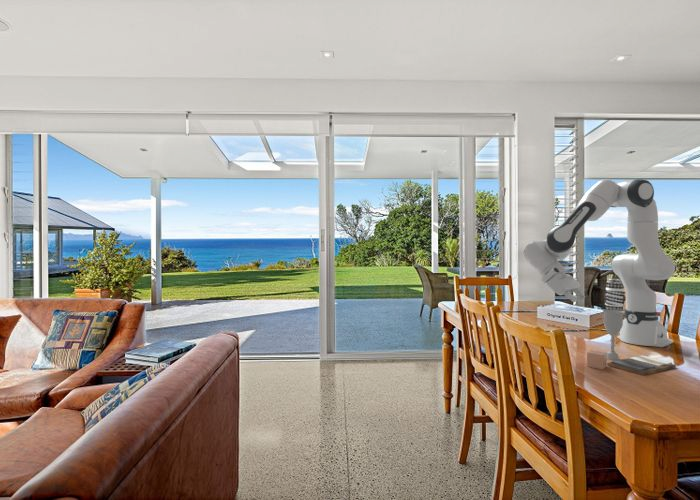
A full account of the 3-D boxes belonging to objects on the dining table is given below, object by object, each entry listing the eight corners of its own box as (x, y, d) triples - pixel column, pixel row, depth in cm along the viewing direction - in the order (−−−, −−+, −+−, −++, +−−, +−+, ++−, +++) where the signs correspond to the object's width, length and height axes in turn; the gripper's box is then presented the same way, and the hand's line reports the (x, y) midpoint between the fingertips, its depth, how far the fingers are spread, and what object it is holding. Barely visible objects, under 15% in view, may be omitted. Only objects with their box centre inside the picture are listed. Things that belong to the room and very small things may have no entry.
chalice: (620, 356, 164) (622, 310, 163) (625, 361, 157) (627, 313, 157) (599, 354, 166) (600, 309, 166) (603, 359, 160) (604, 311, 159)
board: (639, 358, 162) (639, 354, 161) (675, 367, 151) (675, 362, 151) (607, 365, 152) (607, 360, 152) (643, 375, 142) (643, 370, 142)
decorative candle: (608, 329, 214) (609, 279, 213) (600, 325, 223) (601, 278, 223) (627, 330, 213) (629, 280, 212) (619, 326, 222) (620, 278, 221)
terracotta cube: (590, 363, 155) (591, 350, 155) (606, 366, 151) (606, 352, 151) (587, 366, 151) (587, 352, 151) (602, 369, 148) (603, 355, 148)
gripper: (557, 277, 185) (581, 302, 178) (539, 280, 171) (564, 307, 164) (569, 267, 182) (594, 292, 175) (551, 270, 167) (577, 297, 161)
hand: (579, 300), depth 170 cm, fingers open, 8 cm apart
